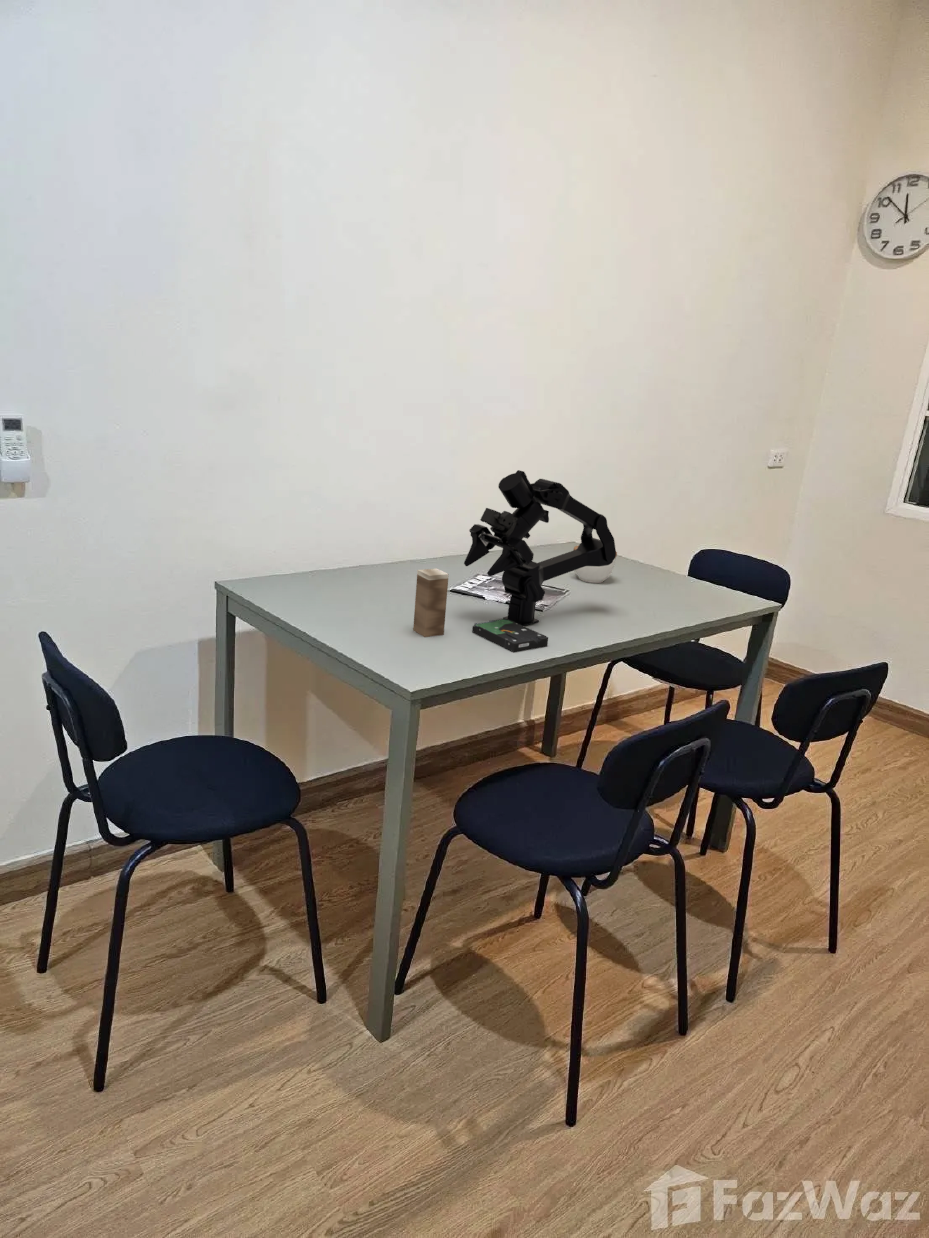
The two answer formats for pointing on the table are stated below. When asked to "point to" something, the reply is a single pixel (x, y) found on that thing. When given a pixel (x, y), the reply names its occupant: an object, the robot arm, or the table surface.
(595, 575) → the lidded bowl
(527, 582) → the robot arm
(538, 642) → the disk drive
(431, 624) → the walnut block
